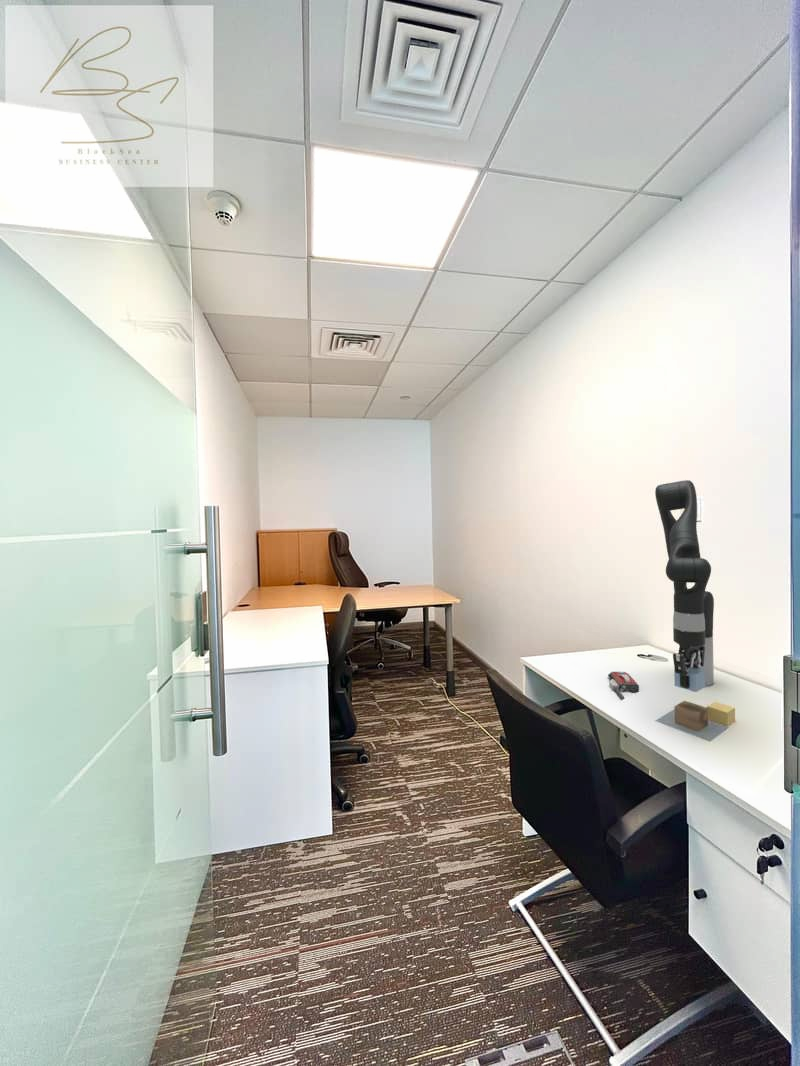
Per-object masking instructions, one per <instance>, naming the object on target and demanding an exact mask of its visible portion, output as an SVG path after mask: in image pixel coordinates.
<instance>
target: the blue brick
mask: <svg viewBox="0 0 800 1066" xmlns="http://www.w3.org/2000/svg"><path fill="white" fill-rule="evenodd" d="M686 668H687V667H686ZM678 669H679V667H678ZM673 670H674V674H673V676H674V679H673V680H674V687H677V688H680V689H684V690H686V691H687V690H688V691H691V692H694V693H697V692H699V691H701V690H702V689H705V688H706V686H705V670H703V669H699V668H695V667H693V668H691V669H690V674H689V681H690V687H689V688H688V689H687V688H683V687H681V686H680V674H678V673H675V668H674V669H673Z"/></svg>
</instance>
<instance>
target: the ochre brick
mask: <svg viewBox="0 0 800 1066" xmlns="http://www.w3.org/2000/svg"><path fill="white" fill-rule="evenodd" d="M706 708H708V720H709V721H712V722H715V723H718V724H721V725H724V726H727V727H730V725H731V724H733V723H734V722H736V707H734V706H730V705H727V704H724V703H721V702H718V701H713V702H711V703H709V705H707V707H706Z"/></svg>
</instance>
